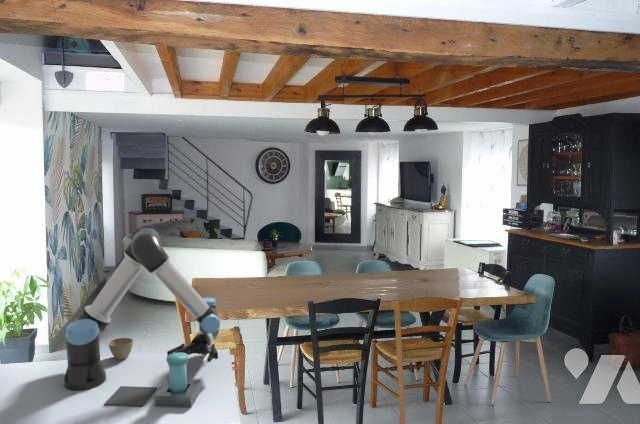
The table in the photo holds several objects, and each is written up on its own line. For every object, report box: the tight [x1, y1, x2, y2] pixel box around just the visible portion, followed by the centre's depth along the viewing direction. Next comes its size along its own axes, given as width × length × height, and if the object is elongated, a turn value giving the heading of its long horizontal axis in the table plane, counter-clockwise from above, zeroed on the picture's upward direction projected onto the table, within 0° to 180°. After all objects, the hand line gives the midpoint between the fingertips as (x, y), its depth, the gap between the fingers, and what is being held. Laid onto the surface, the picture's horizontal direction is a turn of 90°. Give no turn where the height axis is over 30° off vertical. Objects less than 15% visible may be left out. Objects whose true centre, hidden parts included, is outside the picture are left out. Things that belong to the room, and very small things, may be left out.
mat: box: [103, 385, 158, 408], centre depth 202 cm, size 14×14×1 cm
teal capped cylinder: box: [166, 353, 189, 393], centre depth 200 cm, size 8×8×16 cm
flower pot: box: [108, 337, 134, 361], centre depth 237 cm, size 10×10×7 cm
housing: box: [154, 379, 203, 409], centre depth 200 cm, size 13×13×4 cm
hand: (186, 363), depth 209 cm, fingers open, 13 cm apart
